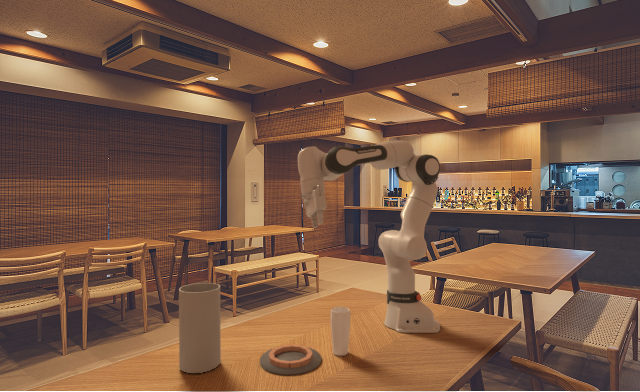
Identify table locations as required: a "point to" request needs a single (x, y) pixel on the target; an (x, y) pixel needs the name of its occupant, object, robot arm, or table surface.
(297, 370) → the round tray
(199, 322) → the cylinder vase
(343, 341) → the drinking glass
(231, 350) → the table surface
